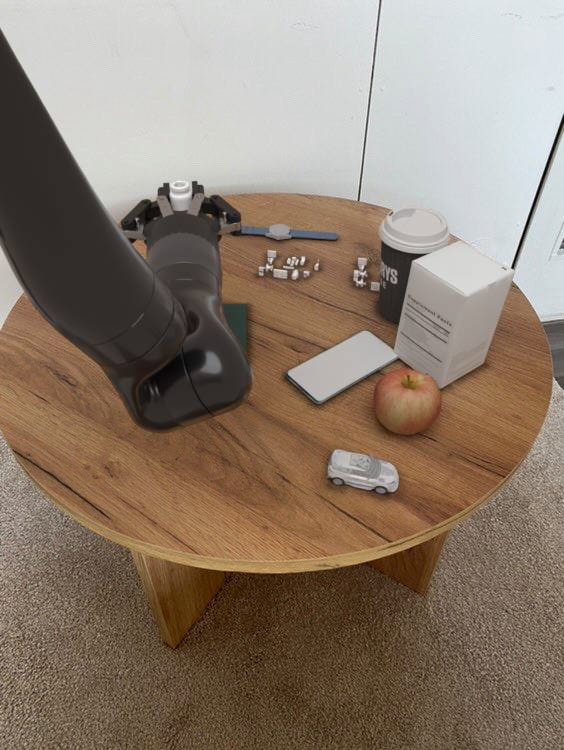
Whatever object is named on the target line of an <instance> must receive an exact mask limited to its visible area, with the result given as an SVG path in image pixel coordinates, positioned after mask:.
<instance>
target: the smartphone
mask: <svg viewBox="0 0 564 750" xmlns="http://www.w3.org/2000/svg"><path fill="white" fill-rule="evenodd" d="M393 351H394V347H392V346H390V345H389V344H388V343H386V342H385V341H384V340H383V339H381V338H380V337H378V336H377V335H375V334H374V333H372V332H371V330H368V329H364V330H362V331H360V332H358V333H356V334H354V335H352V336H350V337H348V338H347V339H345V340H343V341H340V342H339V343H337V344H336V345H334V346H332V347H330V348H328V349H326V350H324V351H323V352H321V353H319V354H317V355H314V356H312V357H311V358H309V359H308V360H306V361H304V362H302V363H299V364H298V365H296V366H294V367H293V368H291V369H289V370H287V371H286V372H285V378H287V380H288V381H290V382H291V383H292V385H295V386H296V388H297V389H299V390H300V391H301V392H302V393H303V394H304V395H305V396H307V397H308V398H309V399H310V400H311V401H312V402H313V403H315V404H316V405H320V404H321V405H322V404H323V403H324V402H326V401H327V400H330V399H331V398H333V397H335V396H337V395H338V394H340V393H341V392H343V391H345V390H347V389H349V388H350V387H352V386H354V385H355V384H357V383H359V382H360V381H362V380H364V379H366V378H367V377H369V376H371V375H372V374H374V373H376V372H377V371H379V370H381V369H383V368H384V367H386V366H388V365H390V364H391V363H393V362H394V361H396V360H398V359H400V358H399V356H398V355H396V354H395V353H394V352H393Z"/></svg>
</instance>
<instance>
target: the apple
mask: <svg viewBox="0 0 564 750" xmlns="http://www.w3.org/2000/svg"><path fill="white" fill-rule="evenodd" d="M442 404H443V398H442V391H441V390H440V389H439V387H438V385H437V383H436V382H435V381H434V379H432V378H431V377H430V376H428V375H426V374H424V373H421V372H419V371H415V370H414V369H412V368H401V369H400V368H399V369H395V370H391V371H389V372H387V373H385V374H384V375H383V376H381V378H379V379H378V381H377V382H376V384H375V387H374V390H373V407H374V411H375V415H376V418H377V419H378V422H380V423H381V425H382V426H384V427H385V429H387V430H389V431H390V432H392V433H394V434H397V435H404V436H406V435H408V436H409V435H415V434H417V433H420V432H423V431H425V430H427V429H428V428H430V427H431V426H432V425H433V424H434V422H435V421H436V420H437V419H438V417H439V416H440V413H441V410H442Z"/></svg>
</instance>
